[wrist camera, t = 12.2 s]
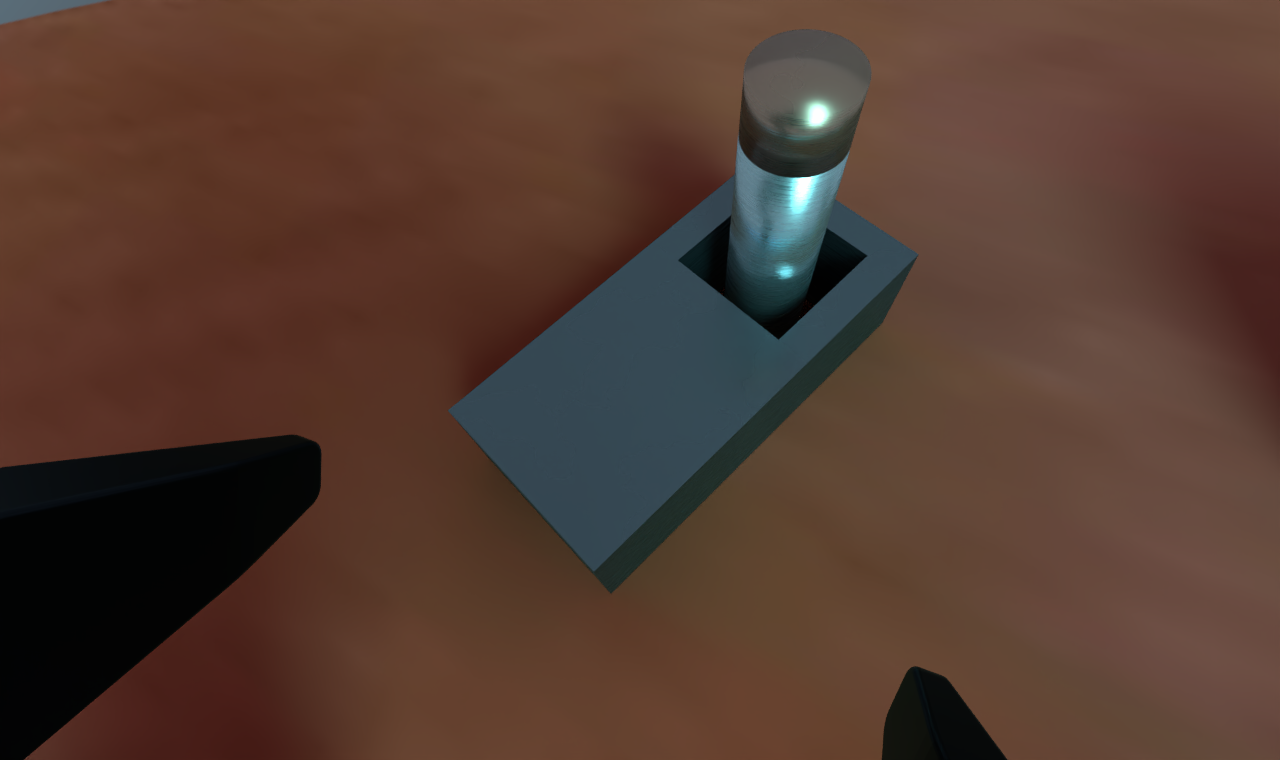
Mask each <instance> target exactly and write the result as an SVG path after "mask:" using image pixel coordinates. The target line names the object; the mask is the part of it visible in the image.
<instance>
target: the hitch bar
mask: <svg viewBox="0 0 1280 760" xmlns="http://www.w3.org/2000/svg"><path fill="white" fill-rule="evenodd" d="M734 179H735V175H734V176H733V177H731V178H730V179H729V180H728V181H727V182H725V183H724V184H723V185H722V186H720V187H719V188H718V189H717V190H716V191H714V192H713V193H712V194H711V195H709V196H708V197H707V198H706V199H705V200H703V201H702V202H701V203H700V204H699V205H697V206H696V207H695V208H694V209H692V210H691V211H690V212H689V213H688V214H686V215H685V216H684V217H683V218H682V219H680V220H679V221H678V222H677V223H675V224H674V225H673V226H672V227H671V228H669V229H668V230H667V231H666V232H665V233H663V234H662V235H661V236H660V237H658V238H657V239H656V240H655V241H654V242H652V243H651V244H650V245H649V246H647V247H646V248H645V249H644V250H643V251H641V252H640V253H639V254H638V255H637V256H635V257H634V258H633V259H632V260H630V261H629V262H628V263H627V264H626V265H624V266H623V267H622V268H621V269H620V270H618V271H617V272H616V273H615V274H613V275H612V276H611V277H610V278H609V279H607V280H606V281H605V282H604V283H602V284H601V285H600V286H599V287H598V288H596V289H595V290H594V291H593V292H592V293H590V294H589V295H588V296H587V297H585V298H584V299H583V300H582V301H581V302H579V303H578V304H577V305H576V306H575V307H573V308H572V309H571V310H570V311H568V312H567V313H566V314H565V315H564V316H562V317H561V318H560V319H559V320H557V321H556V322H555V323H554V324H553V325H551V326H550V327H549V328H548V329H547V330H545V331H544V332H543V333H542V334H540V335H539V336H538V337H537V338H536V339H534V340H533V341H532V342H531V343H530V344H528V345H527V346H526V347H525V348H523V349H522V350H521V351H520V352H519V353H517V354H516V355H515V356H514V357H513V358H511V359H510V360H509V361H508V362H506V363H505V364H504V365H503V366H502V367H500V368H499V369H498V370H497V371H495V372H494V373H493V374H492V375H491V376H489V377H488V378H487V379H486V380H485V381H483V382H482V383H481V384H480V385H478V386H477V387H476V388H475V389H474V390H472V391H471V392H470V393H469V394H468V395H466V396H465V397H464V398H463V399H461V400H460V401H459V402H458V403H457V404H455V405H454V406H453V407H452V408H450V409H449V410H448V411H449V412H450V413H451V415H452V416H453V417H454V418H455V419H456V420H457V422H458V423H459V424H460V425H461V426H462V427H463V429H464V430H465V431H466V432H467V433H468V434H469V436H470V437H471V438H472V439H473V440H474V441H475V443H476V444H477V445H478V446H479V447H480V449H481V450H482V451H483V452H484V453H485V454H486V456H487V457H488V458H489V459H490V460H491V461H492V462H493V463H494V464H495V466H496V467H497V468H498V469H499V470H500V471H501V472H502V473H503V474H504V476H505V477H506V478H507V479H508V480H509V481H510V482H511V483H512V484H513V486H514V487H515V488H516V489H517V490H518V491H519V492H520V493H521V494H522V496H523V497H524V498H525V499H526V500H527V501H528V502H529V503H530V504H531V505H532V507H533V508H534V509H535V510H536V511H537V512H538V513H539V514H540V515H541V517H542V518H543V519H544V520H545V521H546V522H547V523H548V524H549V525H550V527H551V528H552V529H553V530H554V531H555V532H556V533H557V534H558V535H559V537H560V538H561V539H562V540H563V541H564V542H565V543H566V544H567V545H568V547H569V548H570V549H571V550H572V551H573V552H574V553H575V554H576V555H577V556H578V558H579V559H580V560H581V561H582V562H583V563H584V564H585V565H586V566H587V568H588V569H589V570H590V571H591V572H592V573H593V574H594V575H595V576H596V578H597V579H598V580H599V581H600V582H601V583H602V584H603V585H604V586H605V588H606V589H607V590H608V591H609V592H610V593H612V592H613V591H614V590H615V589H616V588H617V587H618V586H619V585H620V584H621V583H622V582H623V581H624V580H625V579H626V578H627V577H628V576H629V575H630V574H631V573H632V572H633V571H634V570H635V569H636V568H637V567H638V566H639V565H640V564H641V563H642V562H643V561H644V560H645V559H646V558H647V557H648V556H649V555H650V554H651V553H652V552H653V551H654V550H655V549H656V548H657V547H658V546H659V545H660V544H661V543H662V542H663V541H664V540H665V539H666V538H667V537H668V536H669V535H670V534H671V533H672V532H673V531H674V530H675V529H676V528H677V527H678V526H679V525H680V524H681V523H682V522H683V521H684V520H685V519H686V518H687V517H688V516H689V515H690V514H691V513H692V512H693V511H694V510H695V509H696V508H697V507H698V506H699V505H700V504H701V503H702V502H703V501H704V500H705V499H706V498H707V497H708V496H709V495H710V494H711V493H712V492H713V491H714V490H715V489H716V488H717V487H718V486H719V485H720V484H721V483H722V482H723V481H724V480H725V479H726V478H727V477H728V476H729V475H730V474H731V473H732V472H733V471H734V470H735V469H736V468H737V467H738V466H739V465H740V464H741V463H742V462H743V461H744V460H745V459H746V458H747V457H748V456H749V455H750V454H751V453H752V452H753V451H754V450H755V449H756V448H757V447H758V446H759V445H760V444H761V443H762V442H763V441H764V440H765V439H766V438H767V437H768V436H769V435H770V434H771V433H772V432H773V431H774V430H775V429H776V428H777V427H778V426H779V425H780V424H781V423H782V422H783V421H784V420H785V419H786V418H787V417H788V416H789V415H790V414H791V413H792V412H793V411H794V410H795V409H796V408H797V407H798V406H799V405H800V404H801V403H802V402H803V401H804V400H805V399H806V398H807V397H808V396H809V395H810V394H811V393H812V392H813V391H814V390H815V389H817V388H818V387H819V386H820V385H821V384H822V383H823V382H824V381H825V380H826V379H827V378H828V377H829V376H830V375H831V374H832V373H833V372H834V371H835V370H836V369H837V368H838V367H839V366H840V365H841V364H842V363H843V362H844V361H845V360H846V359H847V358H848V357H849V356H850V355H851V354H852V353H853V352H854V351H855V350H856V349H857V348H858V347H859V346H860V345H861V344H862V343H863V342H864V341H865V340H866V339H867V338H868V337H869V336H870V335H871V334H872V333H873V332H874V331H875V330H876V329H877V328H878V327H879V326H880V325H881V324H882V322H883V321H884V319H885V317H886V315H887V313H888V311H889V309H890V307H891V305H892V304H893V302H894V300H895V298H896V296H897V294H898V292H899V290H900V289H901V287H902V285H903V283H904V281H905V279H906V277H907V275H908V273H909V272H910V270H911V268H912V266H913V264H914V262H915V260H916V258H917V256H918V255H919V254H917V253H915V252H914V251H912V250H911V249H909V248H908V247H906V246H905V245H903V244H902V243H900V242H899V241H897V240H896V239H894V238H893V237H891V236H890V235H888V234H887V233H885V232H884V231H882V230H881V229H879V228H878V227H876V226H875V225H873V224H871V223H870V222H868V221H867V220H865V219H864V218H862V217H861V216H859V215H858V214H856V213H855V212H853V211H852V210H850V209H849V208H847V207H846V206H844V205H843V204H841V203H840V202H838V201H837V200H835V201H834V205H833V208H832V211H831V215H830V218H829V221H828V225H827V228H826V231H825V235H824V238H823V241H822V245H821V248H820V252H819V255H818V258H817V262H816V265H815V268H814V272H813V275H812V278H811V282H810V285H809V288H808V292H807V295H806V299H807V300H809V301H810V302H812V303H813V304H814V305H815V306H814V307H813V308H812V309H811V310H810V311H809V312H808V313H807V314H806V315H804V316H803V317H802V318H801V319H800V320H799V321H798V322H797V323H796V324H795V325H794V326H793V327H792V328H791V329H790V330H789V331H788V332H786V333H785V334H784V335H783V336H782V337H781V338H780V339H779V340H778V339H777V338H776V337H774V336H773V335H772V334H771V333H769V332H768V331H767V330H766V329H764V328H763V327H762V326H760V325H759V324H758V323H757V322H755V321H754V320H753V319H752V318H750V317H749V316H748V315H747V314H745V313H744V312H743V311H741V310H740V309H739V308H738V307H736V306H735V305H734V304H733V303H731V302H730V301H729V300H728V299H726V298H725V297H724V296H722V295H721V294H720V293H719V292H718V291H719V290H721V289H722V288H723V287H724V286H725V281H726V270H727V258H728V247H729V236H730V224H731V213H732V202H733V191H734Z"/></svg>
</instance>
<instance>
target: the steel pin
mask: <svg viewBox="0 0 1280 760" xmlns="http://www.w3.org/2000/svg"><path fill="white" fill-rule="evenodd" d="M870 80H871V67H870V64H869V61H868V59H867V57H866V56H865V54H864V53H863V52H862V51H861V50H860V48H859V47H857V46H856V45H855V44H854V43H852V42H851V41H849V40H847V39H845V38H843V37H841V36H839V35H836V34H833V33H830V32H826V31H820V30H810V29H803V30H792V31H787V32H783V33H779V34H777V35H774V36H772V37H770V38H768V39H766V40H764V41H763V42H761V43H760V44H759V45H757V46H756V47H755V48H754V49H753V50H752V52H751V53H750V55H749V56H748V58H747V60H746V63H745V67H744V78H743V89H742V100H741V112H740V123H739V134H738V145H737V157H736V168H735V179H734V191H733V202H732V213H731V224H730V236H729V247H728V258H727V270H726V281H725V292H724V297H725V298H726V299H728V300H729V301H730V302H731V303H733V304H734V305H735V306H736V307H738V308H739V309H740V310H741V311H743V312H744V313H745V314H747V315H748V316H749V317H750V318H752V319H753V320H754V321H755V322H757V323H758V324H759V325H760V326H762V327H763V328H764V329H766V330H767V331H768V332H769V333H771V334H772V335H773V336H774V337H776V338H777V339H778V340H779V339H780V338H781V337H782V336H783V335H784V334H785V333H786V332H788V331H789V330H790V329H791V328H792V327H793V326H794V325H795V324H796V323H797V322H798V321H799V319H800V315H801V312H802V308H803V305H804V302H805V298H806V295H807V292H808V288H809V285H810V282H811V278H812V275H813V272H814V268H815V265H816V262H817V258H818V255H819V252H820V248H821V245H822V241H823V238H824V235H825V231H826V228H827V225H828V221H829V218H830V215H831V211H832V208H833V205H834V201H835V198H836V195H837V191H838V188H839V184H840V181H841V178H842V174H843V171H844V168H845V164H846V161H847V158H848V154H849V151H850V148H851V144H852V141H853V138H854V134H855V131H856V127H857V124H858V121H859V117H860V114H861V111H862V107H863V104H864V101H865V97H866V94H867V91H868V87H869V84H870Z"/></svg>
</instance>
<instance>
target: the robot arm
mask: <svg viewBox="0 0 1280 760" xmlns="http://www.w3.org/2000/svg"><path fill="white" fill-rule="evenodd" d="M320 487H321V449H320V446H319V445H318V444H317V443H316V442H315V441H312V440H309V439H307V438H304V437H301V436H298V435H284V436H275V437H266V438H257V439H248V440H239V441H231V442H222V443H213V444H204V445H195V446H186V447H178V448H169V449H160V450H151V451H142V452H133V453H124V454H116V455H107V456H98V457H89V458H80V459H71V460H63V461H54V462H45V463H36V464H27V465H18V466H10V467H2V468H0V760H24V759H25V758H26V757H27V756H29V755H30V754H31V753H32V752H33V751H35V750H36V749H37V748H38V747H39V746H40V745H42V744H43V743H44V742H45V741H46V740H48V739H49V738H50V737H51V736H52V735H53V734H55V733H56V732H57V731H58V730H59V729H61V728H62V727H63V726H64V725H65V724H67V723H68V722H69V721H70V720H71V719H72V718H74V717H75V716H76V715H77V714H78V713H80V712H81V711H82V710H83V709H84V708H85V707H87V706H88V705H89V704H90V703H91V702H93V701H94V700H95V699H96V698H97V697H99V696H100V695H101V694H102V693H103V692H104V691H106V690H107V689H108V688H109V687H110V686H112V685H113V684H114V683H115V682H116V681H117V680H119V679H120V678H121V677H122V676H123V675H125V674H126V673H127V672H128V671H129V670H131V669H132V668H133V667H134V666H135V665H136V664H138V663H139V662H140V661H141V660H142V659H144V658H145V657H146V656H147V655H148V654H149V653H151V652H152V651H153V650H154V649H155V648H157V647H158V646H159V645H160V644H161V643H163V642H164V641H165V640H166V639H167V638H168V637H170V636H171V635H172V634H173V633H174V632H176V631H177V630H178V629H179V628H180V627H181V626H183V625H184V624H185V623H186V622H187V621H189V620H190V619H191V618H192V617H193V616H195V615H196V614H197V613H198V612H199V611H200V610H202V609H203V608H204V607H205V606H206V605H208V604H209V603H210V602H211V601H212V600H213V599H215V598H216V597H217V596H218V595H219V594H221V593H222V592H223V591H224V590H225V589H227V588H228V587H229V586H230V585H231V584H232V583H233V582H235V581H236V580H237V579H238V578H239V577H240V576H241V575H242V574H243V573H244V572H246V571H247V570H248V569H249V568H250V567H251V566H252V565H253V564H254V563H255V562H256V561H257V560H258V559H259V558H260V557H261V556H262V555H263V554H264V553H265V552H266V551H267V550H268V549H269V548H270V547H271V546H272V545H273V544H274V543H275V542H276V541H277V540H278V539H279V538H280V537H281V536H282V535H283V534H284V533H285V532H286V531H287V530H288V529H289V528H290V527H291V526H292V525H293V524H294V523H295V522H296V521H297V520H298V518H299V517H300V516H301V515H302V514H303V513H304V512H305V511H306V510H307V509H308V508H309V507H310V506H311V505H312V504H313V503H314V502H315V500H316V499H317V497H318V495H319V492H320ZM882 760H1007V758H1006V757H1005V756H1004V754H1003V753H1002V752H1001V750H1000V749H999V748H998V746H997V745H996V744H995V742H994V741H993V740H992V738H991V737H990V736H989V734H988V733H987V732H986V730H985V729H984V727H983V726H982V725H981V723H980V722H979V721H978V719H977V718H976V717H975V715H974V714H973V713H972V711H971V710H970V709H969V707H968V706H967V705H966V703H965V702H964V700H963V699H962V698H961V696H960V695H959V694H958V692H957V691H956V690H955V688H954V687H953V686H952V684H951V683H950V682H949V681H948V680H947V679H946V678H945V677H944V676H942V675H939V674H936V673H934V672H931V671H928V670H926V669H923V668H920V667H917V666H914V667H911V668H910V669H909V670H908V671H907V673H906V675H905V677H904V679H903V681H902V683H901V685H900V687H899V689H898V692H897V694H896V696H895V698H894V700H893V702H892V704H891V707H890V709H889V711H888V714H887V717H886V721H885V726H884V735H883V750H882Z"/></svg>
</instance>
